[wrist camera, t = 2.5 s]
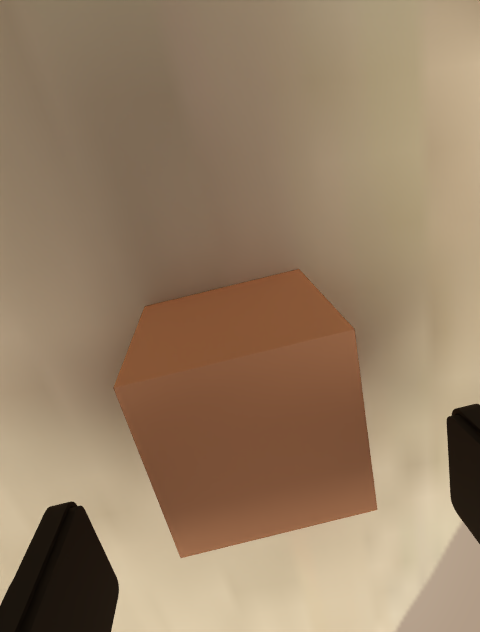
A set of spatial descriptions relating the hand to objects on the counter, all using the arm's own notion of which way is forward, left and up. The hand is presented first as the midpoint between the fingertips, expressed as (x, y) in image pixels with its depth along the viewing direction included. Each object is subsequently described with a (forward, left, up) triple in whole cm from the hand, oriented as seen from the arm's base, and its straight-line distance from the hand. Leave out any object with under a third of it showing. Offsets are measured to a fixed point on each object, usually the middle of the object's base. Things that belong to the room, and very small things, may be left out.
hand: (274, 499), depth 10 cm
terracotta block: (-1, 0, -7) cm, 7 cm away
